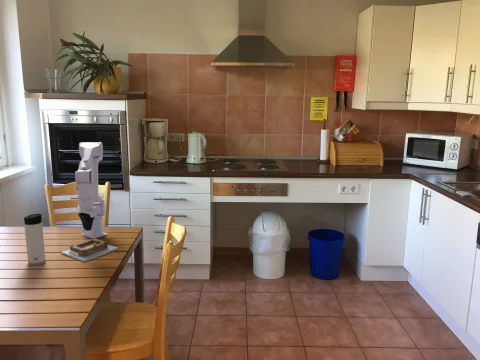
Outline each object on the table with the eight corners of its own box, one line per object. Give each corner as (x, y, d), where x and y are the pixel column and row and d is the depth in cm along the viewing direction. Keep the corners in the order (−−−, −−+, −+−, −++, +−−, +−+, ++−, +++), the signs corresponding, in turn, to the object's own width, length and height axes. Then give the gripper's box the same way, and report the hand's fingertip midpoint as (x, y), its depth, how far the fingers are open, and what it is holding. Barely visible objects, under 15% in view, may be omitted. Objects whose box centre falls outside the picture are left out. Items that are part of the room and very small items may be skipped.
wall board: (61, 253, 175) (61, 249, 174) (95, 242, 189) (95, 238, 188) (84, 262, 167) (83, 257, 166) (117, 249, 181) (117, 244, 180)
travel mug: (39, 266, 162) (35, 217, 158) (24, 265, 163) (19, 216, 159) (49, 260, 168) (45, 212, 164) (35, 259, 169) (30, 211, 165)
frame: (70, 251, 174) (69, 244, 173) (94, 243, 184) (93, 236, 183) (84, 256, 169) (83, 248, 169) (107, 247, 179) (107, 240, 179)
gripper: (102, 200, 170) (104, 232, 172) (88, 193, 180) (90, 223, 183) (85, 203, 165) (87, 235, 168) (71, 196, 176) (73, 226, 178)
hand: (87, 229), depth 175 cm, fingers closed
